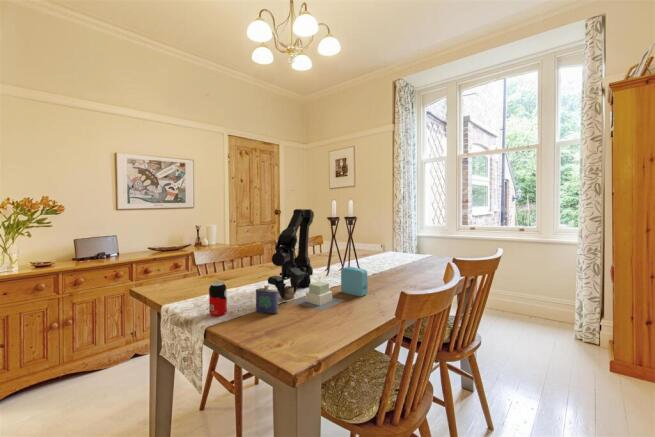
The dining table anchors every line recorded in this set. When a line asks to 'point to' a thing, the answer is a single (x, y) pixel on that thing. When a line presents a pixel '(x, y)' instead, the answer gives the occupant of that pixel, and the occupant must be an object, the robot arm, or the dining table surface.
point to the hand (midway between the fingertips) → (288, 296)
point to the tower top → (319, 287)
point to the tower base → (319, 298)
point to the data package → (354, 281)
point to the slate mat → (322, 307)
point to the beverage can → (217, 299)
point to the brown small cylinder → (288, 292)
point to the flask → (266, 300)
